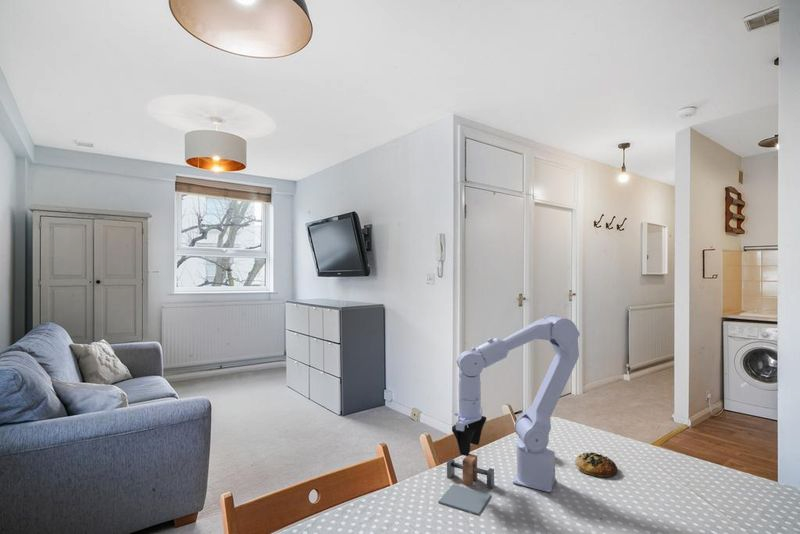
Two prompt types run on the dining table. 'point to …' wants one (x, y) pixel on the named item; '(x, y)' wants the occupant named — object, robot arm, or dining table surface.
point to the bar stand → (490, 473)
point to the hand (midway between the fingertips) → (469, 449)
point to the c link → (469, 469)
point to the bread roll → (596, 465)
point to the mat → (465, 499)
